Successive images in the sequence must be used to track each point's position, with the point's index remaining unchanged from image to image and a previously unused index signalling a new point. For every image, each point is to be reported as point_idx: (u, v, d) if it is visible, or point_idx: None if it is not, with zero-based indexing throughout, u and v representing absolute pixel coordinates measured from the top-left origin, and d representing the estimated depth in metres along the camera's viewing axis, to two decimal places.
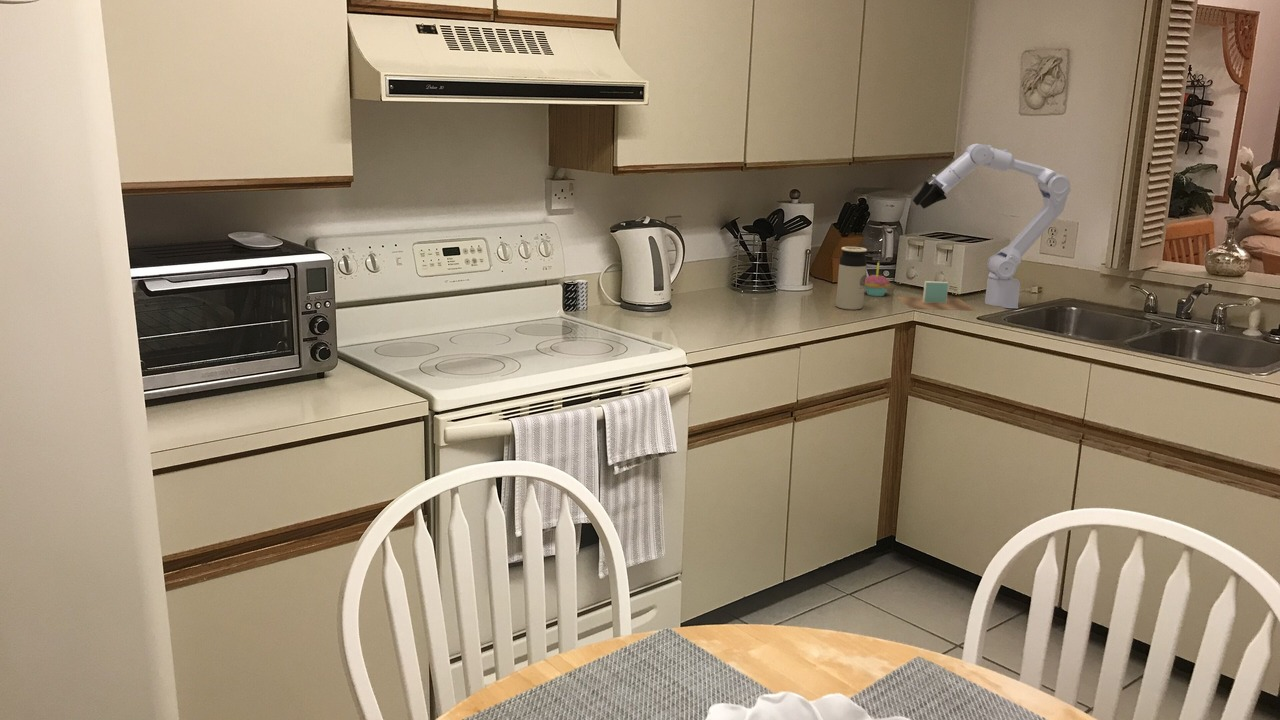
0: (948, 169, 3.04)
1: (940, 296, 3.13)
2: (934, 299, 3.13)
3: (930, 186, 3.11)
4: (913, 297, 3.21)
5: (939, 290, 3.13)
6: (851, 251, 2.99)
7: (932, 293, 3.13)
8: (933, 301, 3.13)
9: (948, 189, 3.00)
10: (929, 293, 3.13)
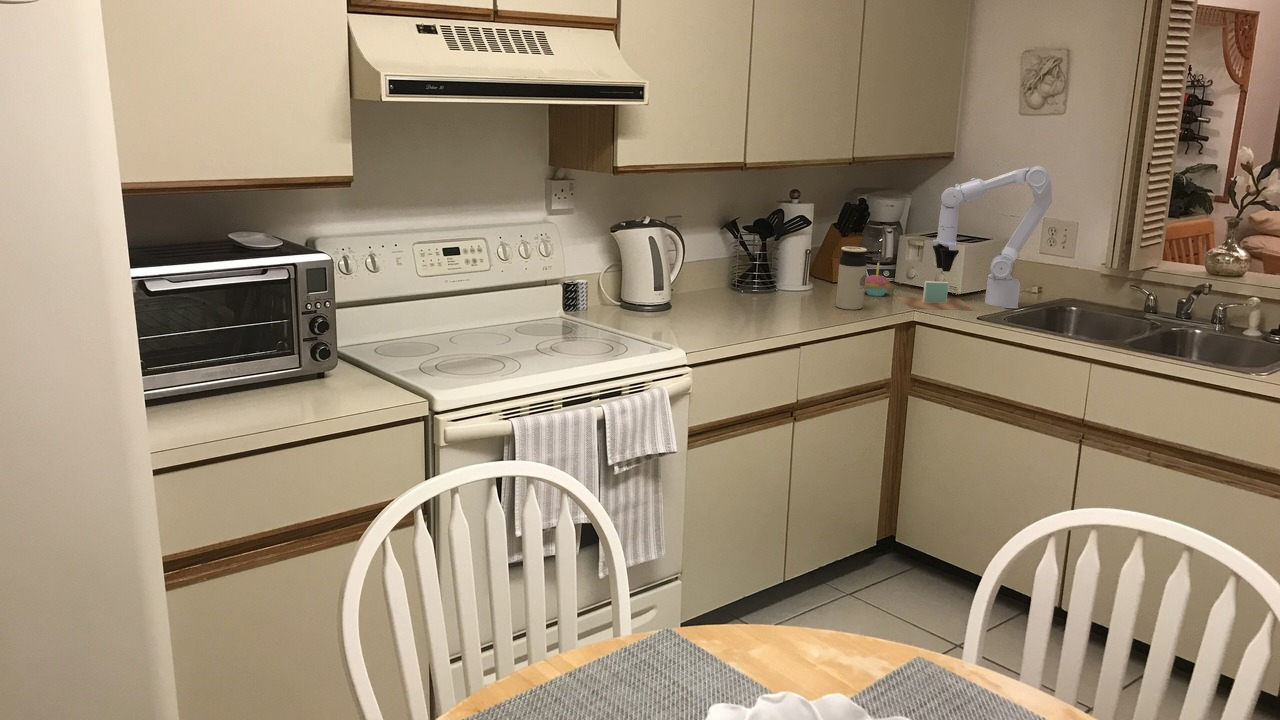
0: (940, 228, 3.15)
1: (940, 296, 3.13)
2: (934, 299, 3.13)
3: (940, 247, 3.20)
4: (913, 297, 3.21)
5: (939, 290, 3.13)
6: (851, 251, 2.99)
7: (932, 293, 3.13)
8: (933, 301, 3.13)
9: (954, 246, 3.10)
10: (929, 293, 3.13)
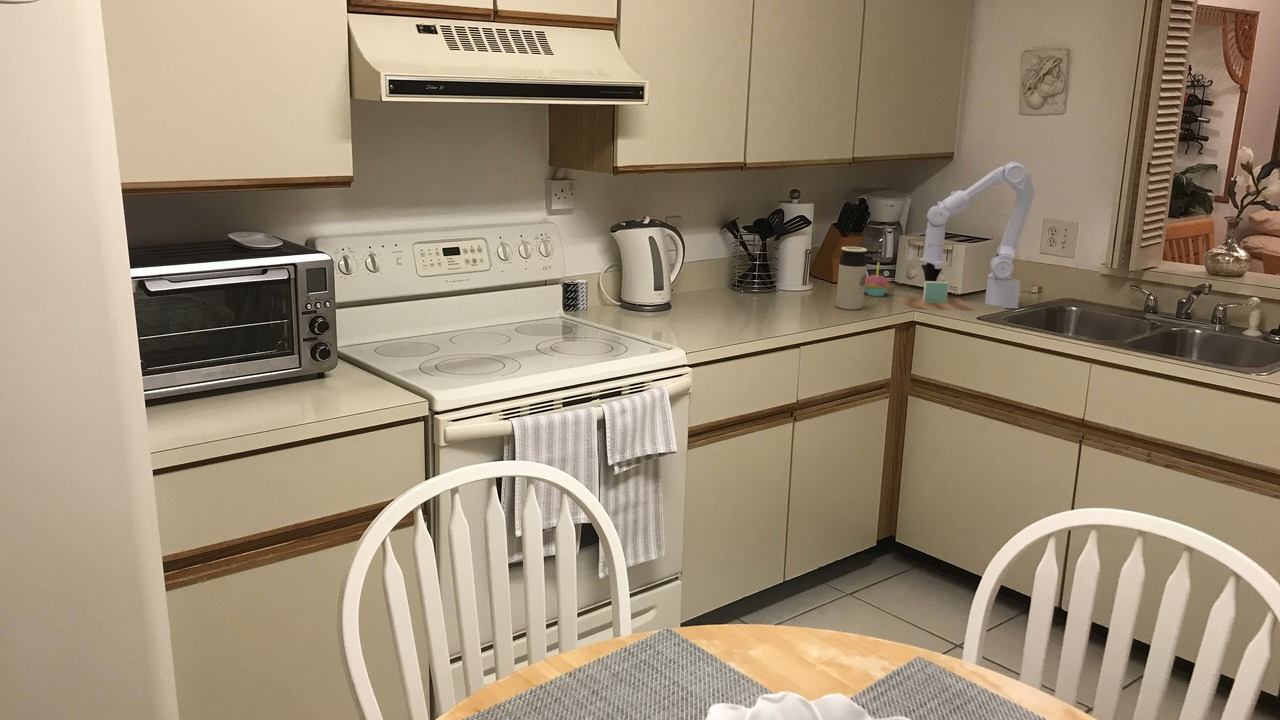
0: (927, 246, 3.15)
1: (940, 296, 3.13)
2: (934, 299, 3.13)
3: None
4: (913, 297, 3.21)
5: (939, 290, 3.13)
6: (851, 251, 2.99)
7: (932, 293, 3.13)
8: (933, 301, 3.13)
9: (940, 264, 3.11)
10: (929, 293, 3.13)
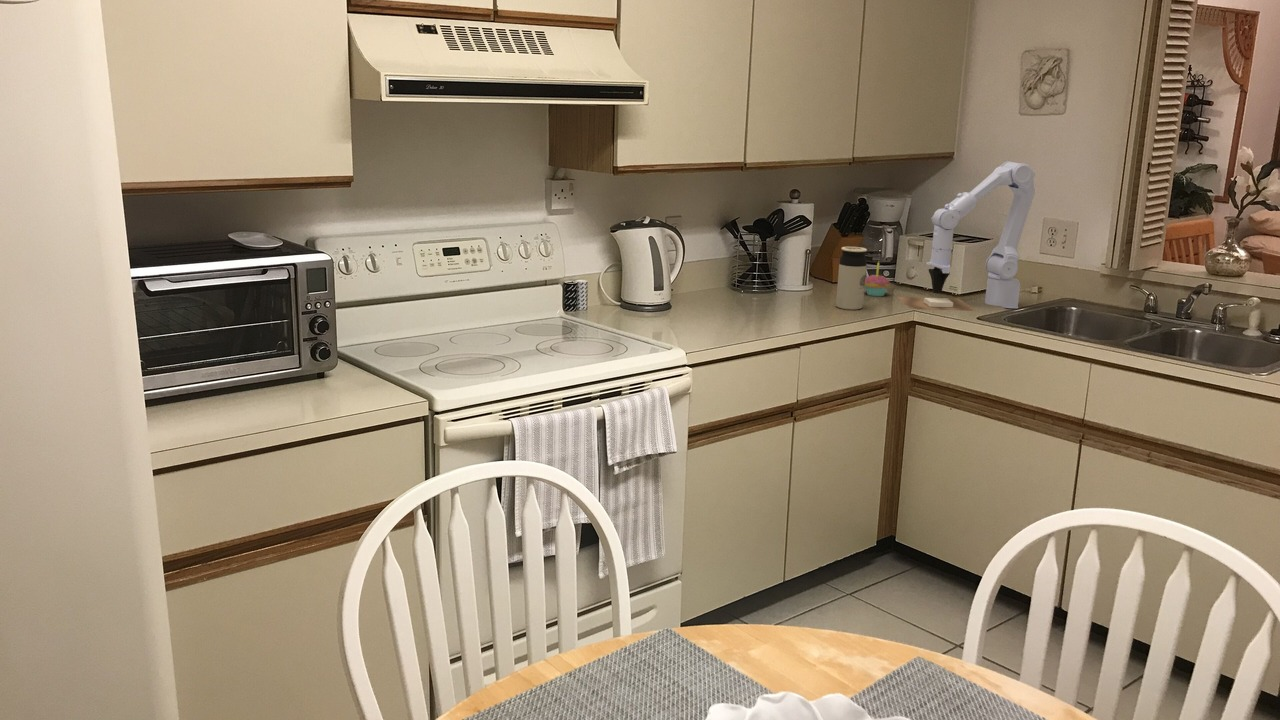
0: (934, 250, 3.08)
1: None
2: None
3: None
4: (913, 297, 3.21)
5: None
6: (851, 251, 2.99)
7: None
8: None
9: (948, 269, 3.03)
10: None
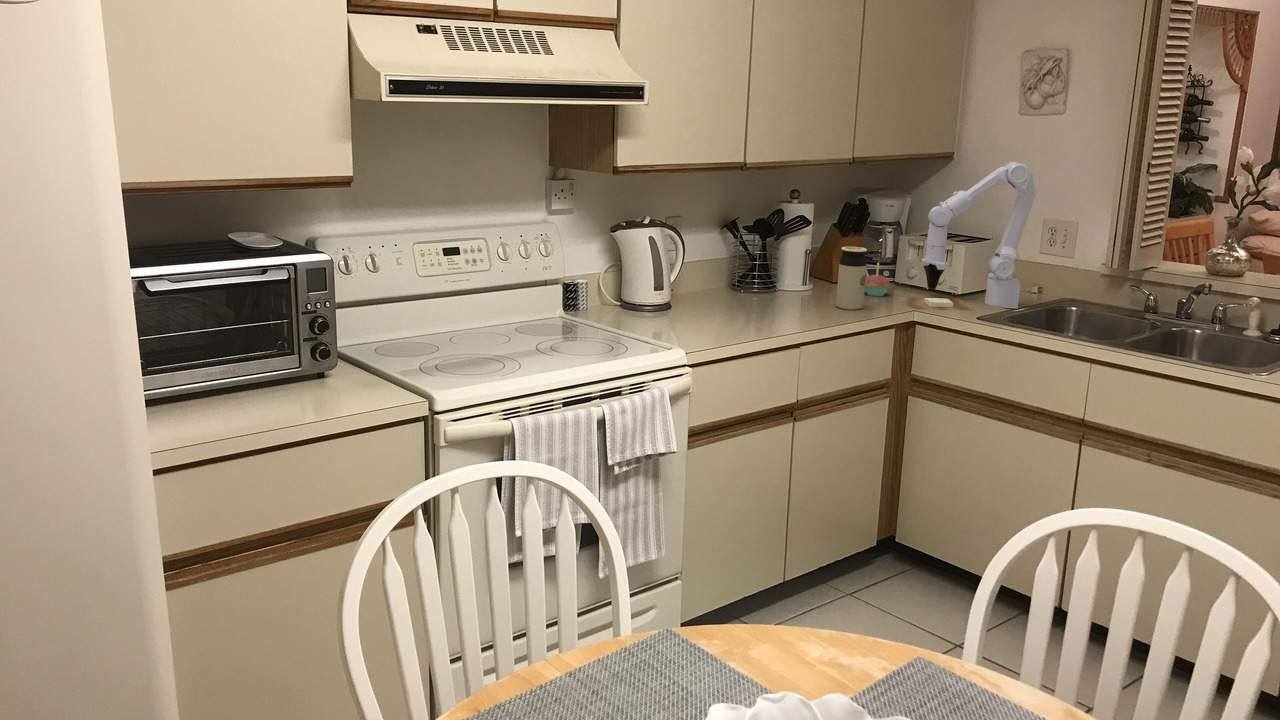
0: (929, 247, 3.13)
1: None
2: None
3: None
4: (913, 297, 3.21)
5: None
6: (851, 251, 2.99)
7: None
8: None
9: (943, 265, 3.09)
10: None
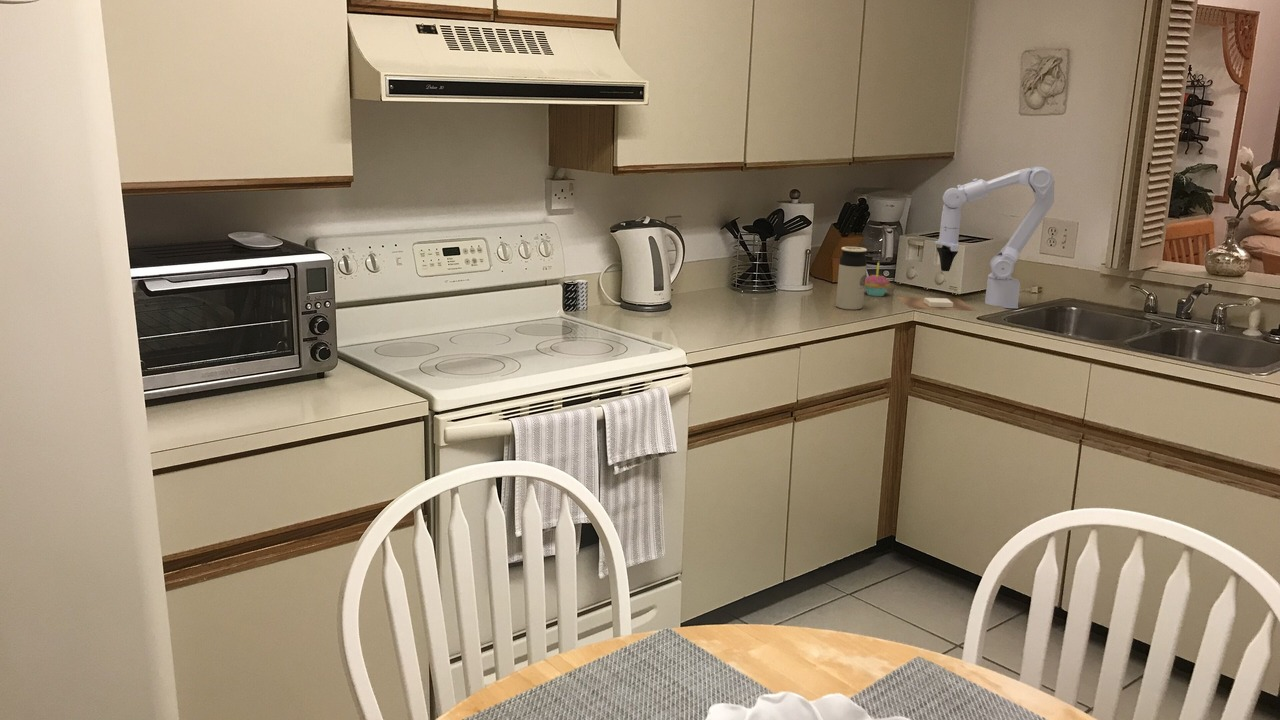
0: (942, 229, 3.13)
1: None
2: None
3: None
4: (913, 297, 3.21)
5: None
6: (851, 251, 2.99)
7: None
8: None
9: (956, 247, 3.08)
10: None
